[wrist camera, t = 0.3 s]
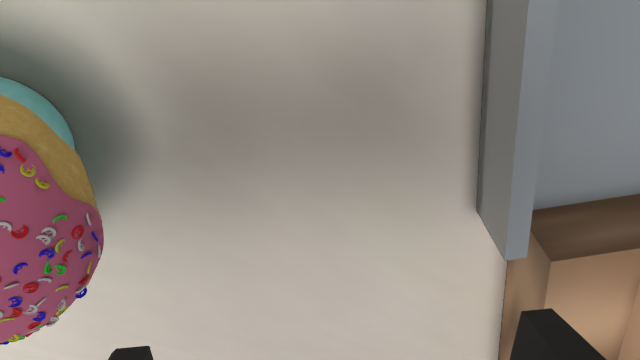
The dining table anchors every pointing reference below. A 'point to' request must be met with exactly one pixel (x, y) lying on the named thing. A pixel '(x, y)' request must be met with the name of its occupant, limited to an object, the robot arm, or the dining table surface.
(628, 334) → the tile sand
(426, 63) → the dining table surface
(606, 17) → the tray
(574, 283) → the bench board
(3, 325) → the cupcake
